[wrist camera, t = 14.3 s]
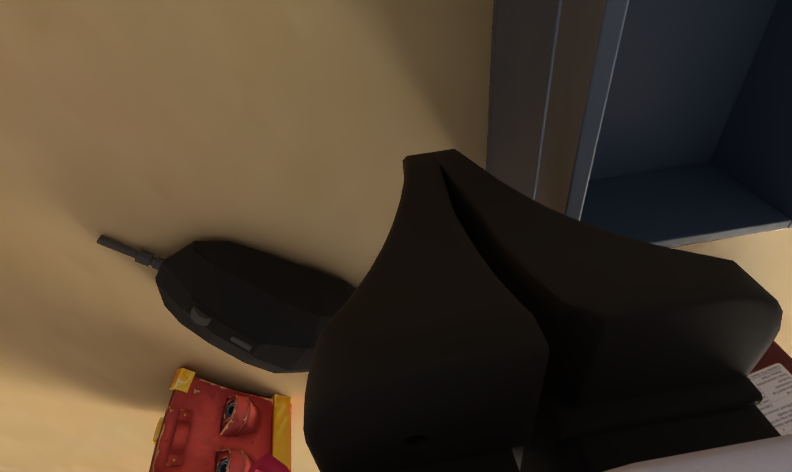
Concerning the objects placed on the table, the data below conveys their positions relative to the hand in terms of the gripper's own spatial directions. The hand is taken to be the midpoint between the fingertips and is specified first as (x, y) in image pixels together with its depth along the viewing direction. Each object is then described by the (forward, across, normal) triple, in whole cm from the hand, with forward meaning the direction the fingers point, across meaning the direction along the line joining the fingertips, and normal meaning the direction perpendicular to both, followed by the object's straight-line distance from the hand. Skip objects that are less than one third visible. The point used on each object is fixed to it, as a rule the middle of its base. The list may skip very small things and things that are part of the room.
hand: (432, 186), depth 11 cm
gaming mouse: (+8, +9, +10) cm, 16 cm away
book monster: (+8, +12, +19) cm, 24 cm away
